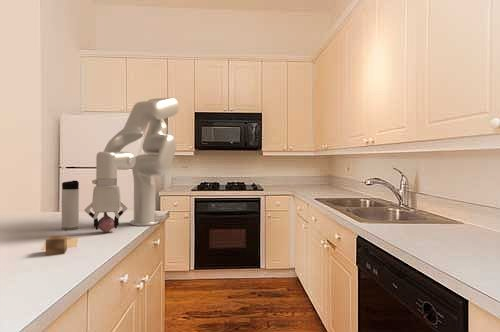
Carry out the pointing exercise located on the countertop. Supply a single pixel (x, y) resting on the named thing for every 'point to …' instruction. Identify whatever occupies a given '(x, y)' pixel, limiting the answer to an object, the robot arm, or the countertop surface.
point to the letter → (70, 243)
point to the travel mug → (70, 205)
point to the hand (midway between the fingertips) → (106, 227)
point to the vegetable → (106, 223)
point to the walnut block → (56, 245)
